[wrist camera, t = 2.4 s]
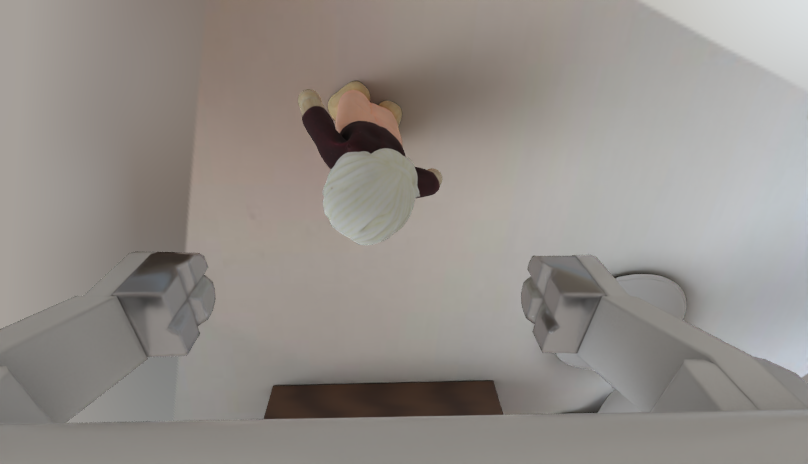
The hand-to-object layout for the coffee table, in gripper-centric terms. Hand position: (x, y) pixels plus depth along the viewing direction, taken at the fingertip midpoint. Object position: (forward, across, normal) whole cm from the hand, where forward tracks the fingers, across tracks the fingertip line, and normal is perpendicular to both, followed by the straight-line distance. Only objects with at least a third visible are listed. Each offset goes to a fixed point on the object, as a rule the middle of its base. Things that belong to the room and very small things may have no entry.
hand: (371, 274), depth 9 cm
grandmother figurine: (+15, 0, 0) cm, 16 cm away
